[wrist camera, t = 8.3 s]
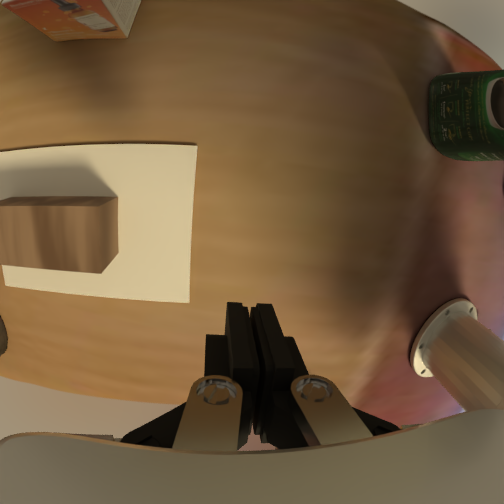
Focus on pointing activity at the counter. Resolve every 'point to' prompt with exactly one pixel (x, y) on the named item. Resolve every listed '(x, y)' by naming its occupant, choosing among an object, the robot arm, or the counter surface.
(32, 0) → the small box
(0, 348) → the pillar candle
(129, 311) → the counter surface
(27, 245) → the walnut block
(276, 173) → the counter surface
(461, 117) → the coffee jar
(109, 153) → the cream mat
